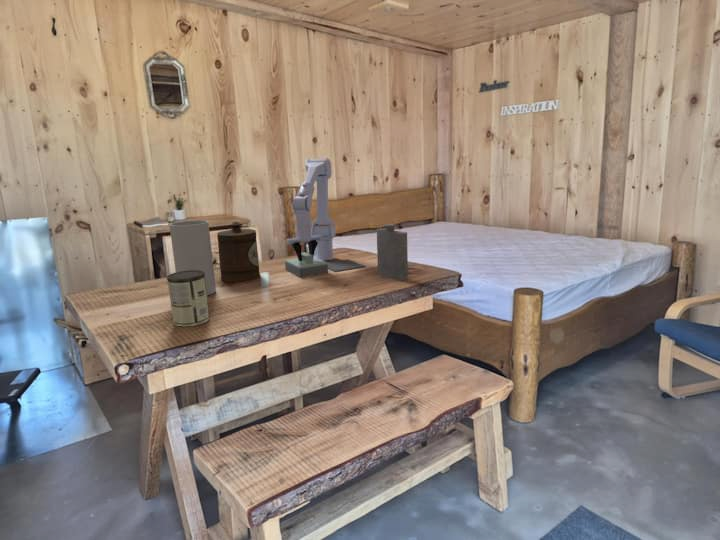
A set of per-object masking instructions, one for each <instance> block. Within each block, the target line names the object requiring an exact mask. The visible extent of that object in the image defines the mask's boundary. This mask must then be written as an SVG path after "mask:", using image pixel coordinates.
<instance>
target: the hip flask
mask: <svg viewBox="0 0 720 540" xmlns="http://www.w3.org/2000/svg"><path fill="white" fill-rule="evenodd" d="M395 226H396V225H395V223H387V224H386V223H385V224H384V227H385V228H381V227H380V228H376V250H377V253H376V254H377V255H376V256H377V274H378V275H379V276H381V275H382V276H381V277H384V276H385V277H384V278H387V277H388V279H390V278H391V280H394V279H395V281H399V280H400V281H401V282H407V281H408V280H409V276H408V275H409V271H408V269H409V266H408V265H409V264H408V261H409V259H408V258H409V257H408V232H406V231H397V230H395ZM406 280H407V281H406Z"/></svg>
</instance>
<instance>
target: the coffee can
mask: <svg viewBox="0 0 720 540" xmlns="http://www.w3.org/2000/svg"><path fill="white" fill-rule="evenodd" d="M204 275H205V272H203V271H200V270H188V271H181V272H176V271H175V272H173V273H169V274H168V275H167V276H166V280H167V286H168V291H169V298H170V299H169V301H170V306H171V313H172V321H173V325H174V326H175V327H179V326H182V327H181V328H183V327H184V328H186V327H188V326H189V327H194V326H200V325H203V324H204V323H207V322H208V321H210V320H211V317H210V309H209V302H208V296H207V292H206V284H205V276H204Z"/></svg>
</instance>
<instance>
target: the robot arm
mask: <svg viewBox="0 0 720 540" xmlns="http://www.w3.org/2000/svg"><path fill="white" fill-rule="evenodd" d="M304 165H305V166H304V167H305V171H306V176H305V180H304V182H302V183H301V185H300V187H299V190H298V192H297V195H296V196H295V197H293V198H292V205H291V206H292V210H293V215H294V216H295V223H296V224H295V225H296V227H295V228H296V237H293V238H287V239H286V241H285V243H286V245H289V246H290V245H291V246H292V248H293V250H294V251H295V253H296V256H297V257H296V258H298V261H302V254H301V253H302V250H303V249H302V248H303V246H302V243H307V246H308V254H311V255H313V257H315V258H317V259H320V260H322V261H324V262H326V261H331V260H337V257H335V256H334V250H333V249H334V247H333V239H334V238H335V237H336V233H337V231H336V229H337V228H336V224H335V221H334V220H333V219H332V218H330V217H329V179H331V178H332V163H331V160H330V158H328V157H325V158H307V159H306V161H305V164H304ZM315 183H316V188H315V186H314V185H315ZM315 189H316V203H317V204H316V208H317V210H316V211H317V212H316V214H317V217H316V218H315V219H314V220H313V221H311V209H312V206H313V196H314V193H315ZM311 222H312V223H311Z"/></svg>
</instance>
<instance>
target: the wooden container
mask: <svg viewBox="0 0 720 540" xmlns="http://www.w3.org/2000/svg"><path fill="white" fill-rule="evenodd" d="M230 226H231V228H230V229H227V230H222V231H219V232H217V233H216V235H217V245H218V258H219V259H218V261H219V269H220V278H221V281H223V280H224V281H223V282H226V281H228V282H230V283H241V281H243V282H248V281H247V280H249V281H253V280H255V278H256V279H257V278H260V274H261V273H260V262H259V251H258V241H257V231H256V229H251V228H242V227H241V223H240V222H238V221H234V222H232V223H231V225H230ZM252 279H253V280H252ZM228 282H227V283H228Z"/></svg>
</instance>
